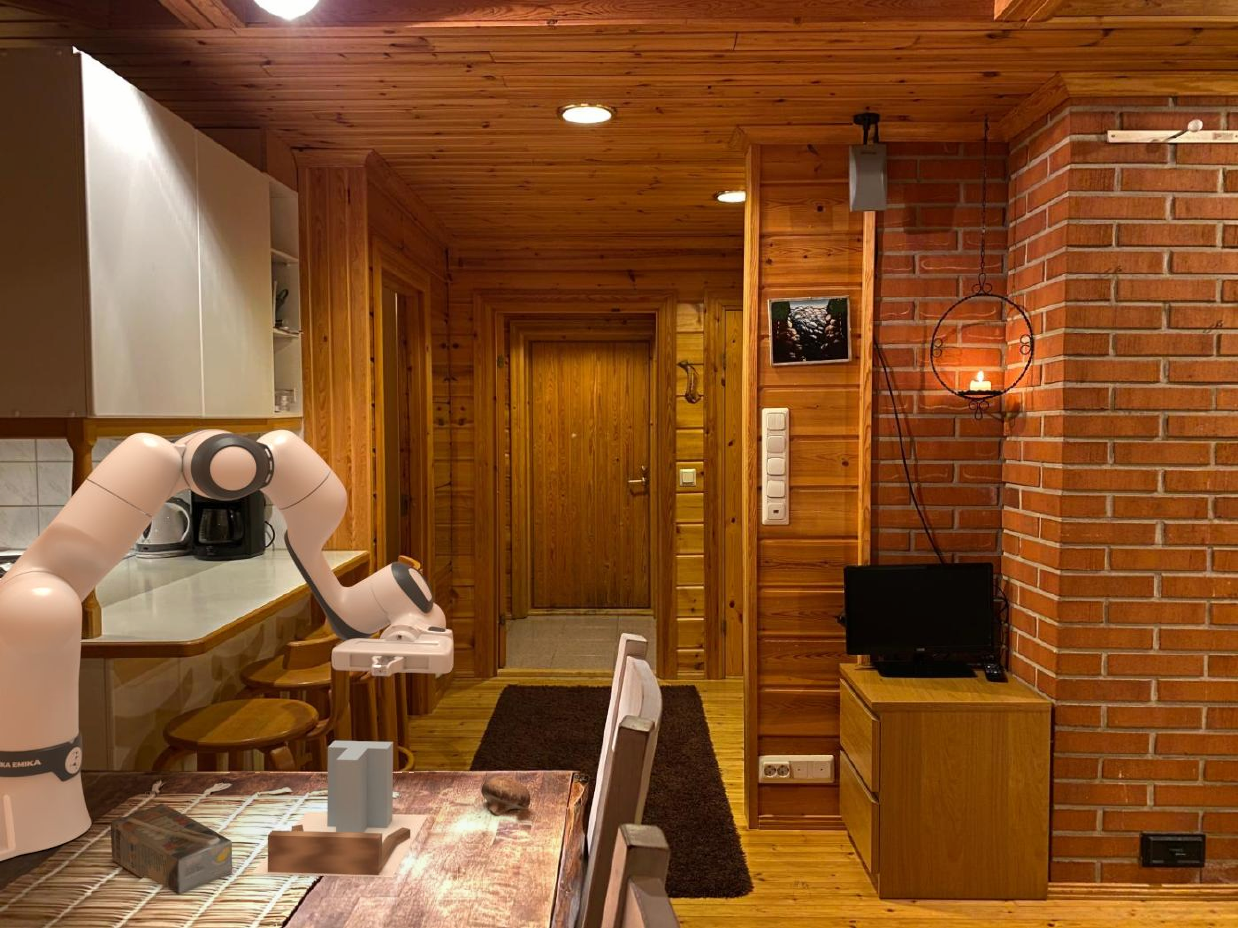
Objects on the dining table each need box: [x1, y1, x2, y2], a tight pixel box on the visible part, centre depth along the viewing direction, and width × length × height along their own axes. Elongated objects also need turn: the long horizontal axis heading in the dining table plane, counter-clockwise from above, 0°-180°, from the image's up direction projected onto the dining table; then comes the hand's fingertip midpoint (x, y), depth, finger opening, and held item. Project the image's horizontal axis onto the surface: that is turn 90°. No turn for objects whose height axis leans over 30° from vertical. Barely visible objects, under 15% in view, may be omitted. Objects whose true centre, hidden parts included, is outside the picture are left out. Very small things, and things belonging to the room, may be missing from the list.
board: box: [250, 811, 429, 879], centre depth 131 cm, size 19×20×1 cm
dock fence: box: [267, 825, 410, 875], centre depth 128 cm, size 18×12×5 cm
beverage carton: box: [110, 803, 234, 895], centre depth 124 cm, size 8×19×6 cm, turn 53°
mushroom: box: [480, 776, 531, 817], centre depth 145 cm, size 8×8×6 cm
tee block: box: [326, 740, 394, 833], centre depth 135 cm, size 9×8×12 cm
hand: (380, 671), depth 147 cm, fingers closed
